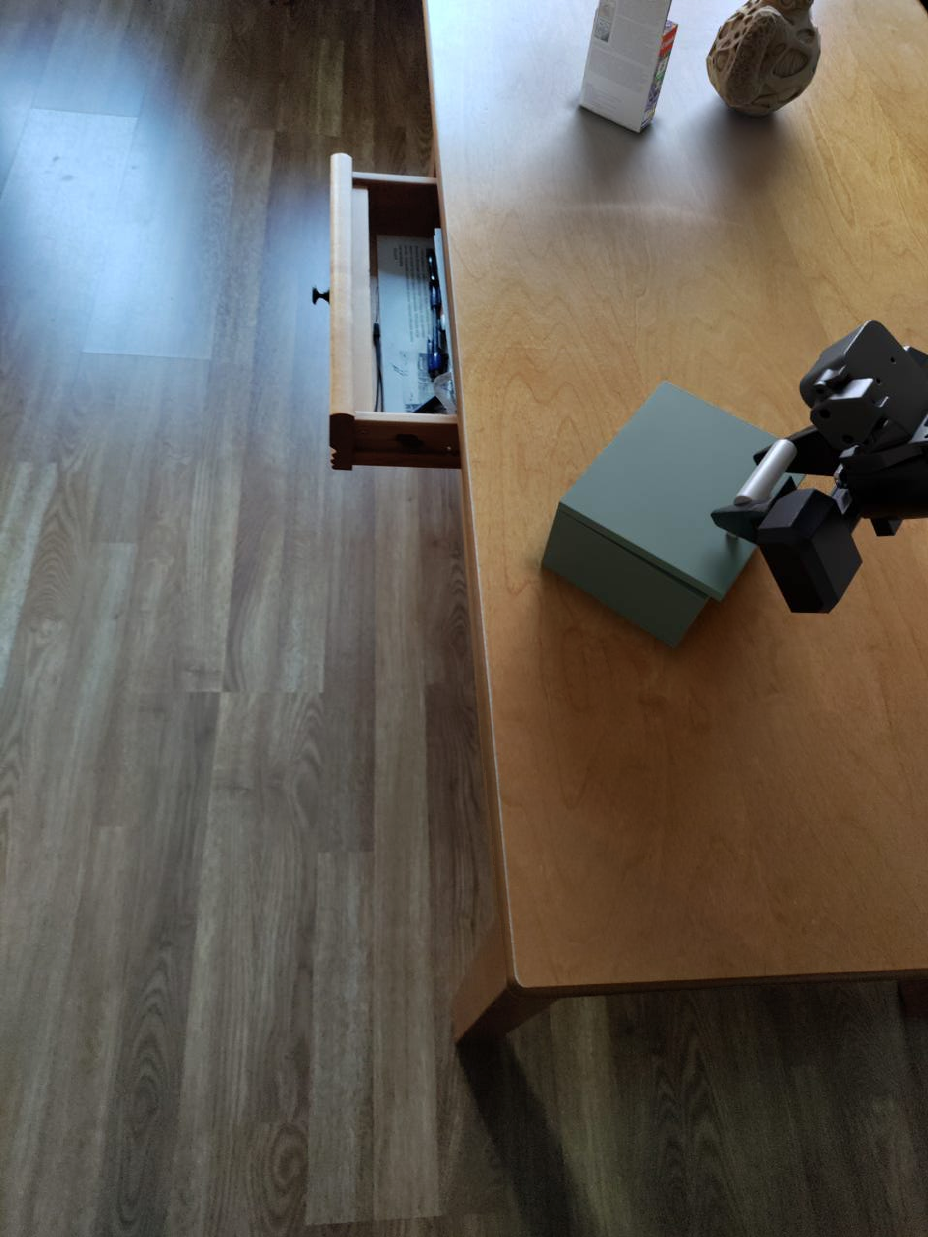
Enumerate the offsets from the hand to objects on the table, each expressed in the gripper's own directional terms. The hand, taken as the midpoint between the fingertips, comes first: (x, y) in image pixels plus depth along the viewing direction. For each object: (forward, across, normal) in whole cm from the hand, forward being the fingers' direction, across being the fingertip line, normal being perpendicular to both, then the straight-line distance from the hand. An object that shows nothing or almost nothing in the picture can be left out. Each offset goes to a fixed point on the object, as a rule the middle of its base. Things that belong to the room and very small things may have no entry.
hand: (735, 488), depth 57 cm
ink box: (+31, -47, -19) cm, 60 cm away
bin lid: (+4, 0, -1) cm, 4 cm away
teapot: (+24, -59, -12) cm, 64 cm away
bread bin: (+9, 0, +4) cm, 10 cm away
